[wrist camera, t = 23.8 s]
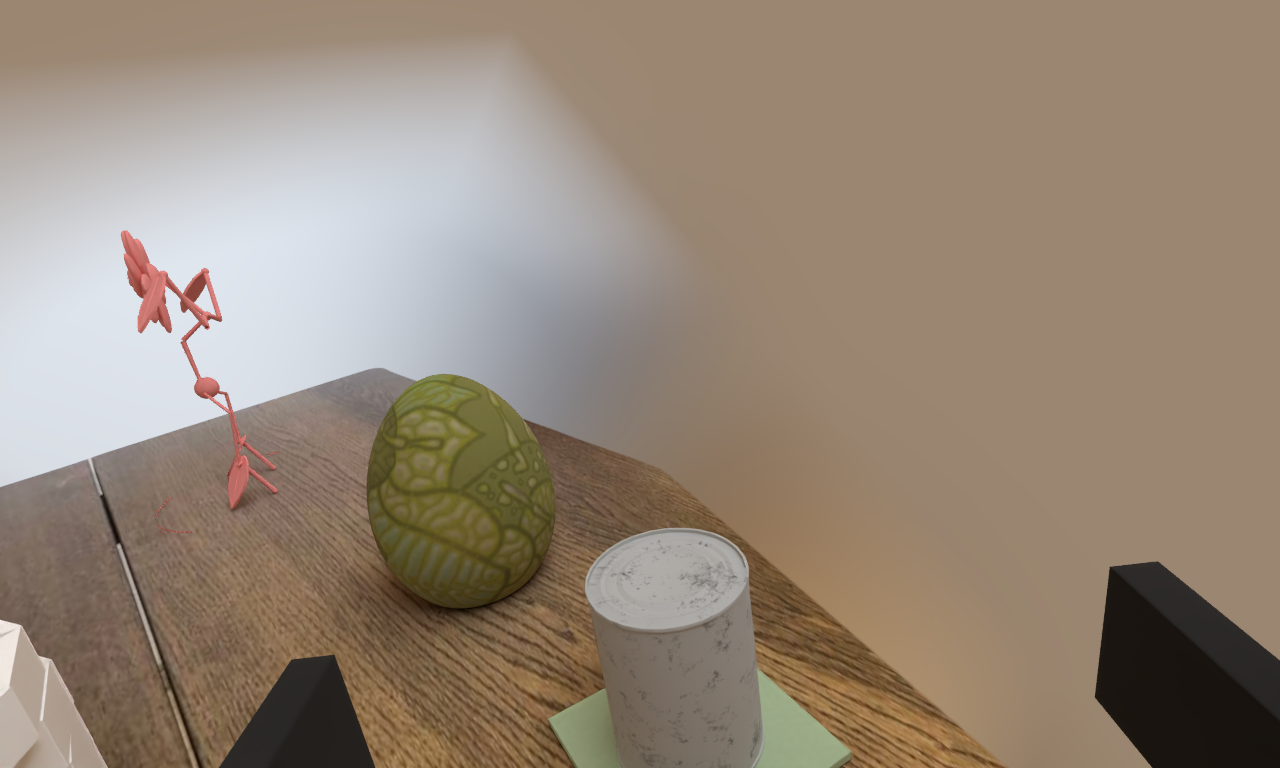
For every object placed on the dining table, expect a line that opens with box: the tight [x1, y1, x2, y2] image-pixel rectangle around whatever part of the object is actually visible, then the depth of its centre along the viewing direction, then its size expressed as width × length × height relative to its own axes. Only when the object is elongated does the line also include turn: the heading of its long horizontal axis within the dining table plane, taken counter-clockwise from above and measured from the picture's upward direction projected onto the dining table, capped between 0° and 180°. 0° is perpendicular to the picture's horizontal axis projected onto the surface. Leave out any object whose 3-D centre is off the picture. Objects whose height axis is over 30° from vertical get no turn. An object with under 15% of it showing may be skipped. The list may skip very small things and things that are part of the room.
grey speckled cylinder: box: [585, 528, 765, 768], centre depth 41 cm, size 10×10×12 cm
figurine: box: [121, 231, 280, 533], centre depth 84 cm, size 15×26×35 cm, turn 29°
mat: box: [548, 668, 851, 768], centre depth 43 cm, size 14×14×1 cm
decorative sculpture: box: [367, 374, 556, 609], centre depth 61 cm, size 16×16×20 cm
